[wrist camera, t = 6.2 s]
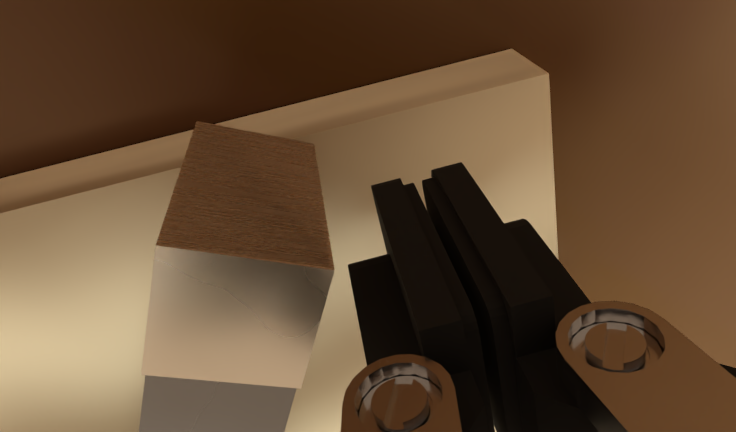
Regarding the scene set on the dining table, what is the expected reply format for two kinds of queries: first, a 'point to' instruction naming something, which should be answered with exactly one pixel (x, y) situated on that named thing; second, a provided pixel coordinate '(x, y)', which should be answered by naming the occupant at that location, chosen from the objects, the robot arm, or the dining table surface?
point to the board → (150, 203)
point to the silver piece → (235, 285)
